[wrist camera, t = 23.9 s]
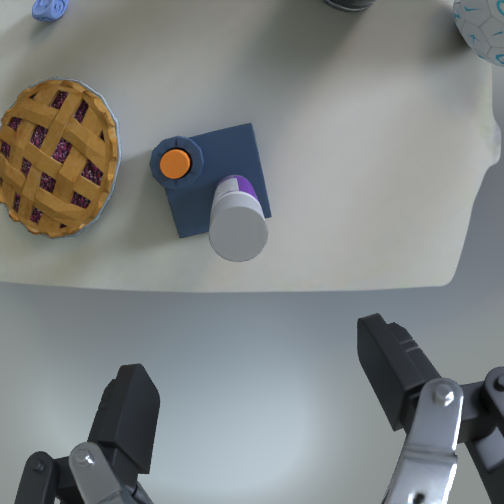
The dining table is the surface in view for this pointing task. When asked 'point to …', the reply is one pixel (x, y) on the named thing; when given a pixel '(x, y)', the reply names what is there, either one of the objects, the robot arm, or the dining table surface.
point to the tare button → (174, 164)
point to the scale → (209, 174)
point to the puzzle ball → (482, 27)
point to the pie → (58, 157)
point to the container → (237, 220)
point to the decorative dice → (48, 9)
